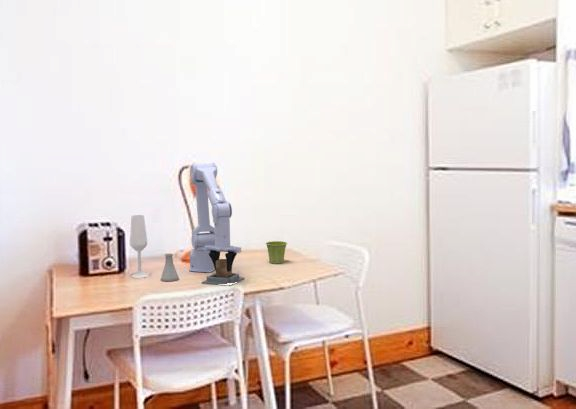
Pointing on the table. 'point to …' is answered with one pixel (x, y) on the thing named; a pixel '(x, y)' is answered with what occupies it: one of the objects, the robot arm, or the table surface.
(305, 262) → the table surface
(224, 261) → the block
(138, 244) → the champagne flute
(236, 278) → the holder
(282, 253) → the plant pot
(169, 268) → the flask
